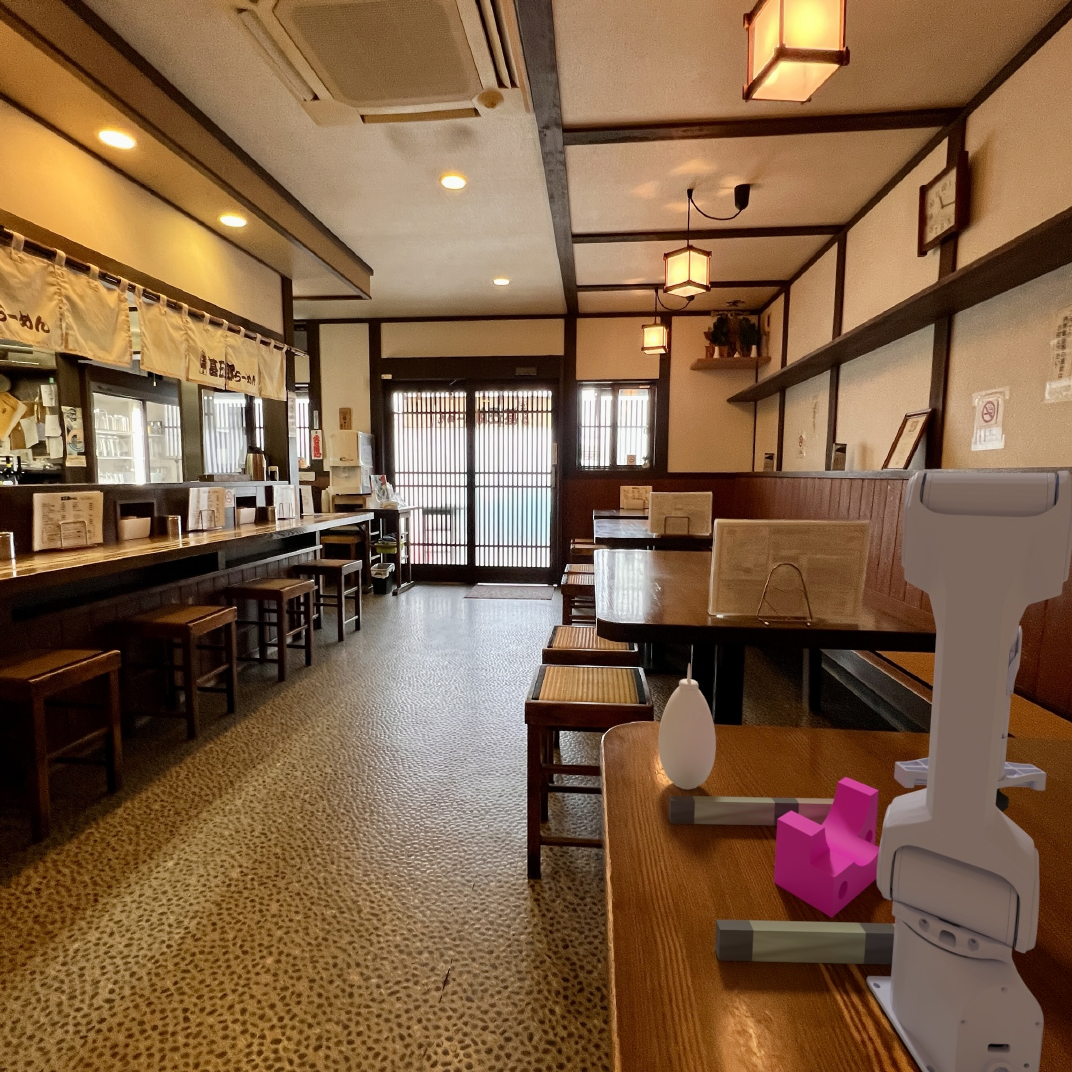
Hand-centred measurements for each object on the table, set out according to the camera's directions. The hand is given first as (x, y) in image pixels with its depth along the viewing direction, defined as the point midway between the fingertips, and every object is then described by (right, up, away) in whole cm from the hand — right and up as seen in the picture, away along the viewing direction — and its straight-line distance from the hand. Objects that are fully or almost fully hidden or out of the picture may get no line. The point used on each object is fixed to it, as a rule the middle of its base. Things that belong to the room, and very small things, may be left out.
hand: (962, 848), depth 63 cm
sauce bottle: (-25, -2, +20) cm, 32 cm away
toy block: (-12, -4, +2) cm, 13 cm away
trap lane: (-17, -4, +1) cm, 18 cm away
